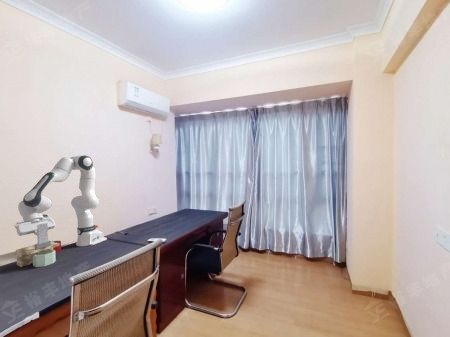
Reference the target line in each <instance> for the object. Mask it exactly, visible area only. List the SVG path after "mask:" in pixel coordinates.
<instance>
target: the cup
mask: <svg viewBox="0 0 450 337" xmlns="http://www.w3.org/2000/svg"><path fill="white" fill-rule="evenodd" d="M56 258H57V257H56V253H55V250H52V249H51V250H43V251H40V252H36V253H35V254H33V263H32V266H33V267H35V268H40V267H47V266H49V265H53V264H54V263H55V262H56V260H57V259H56Z"/></svg>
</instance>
